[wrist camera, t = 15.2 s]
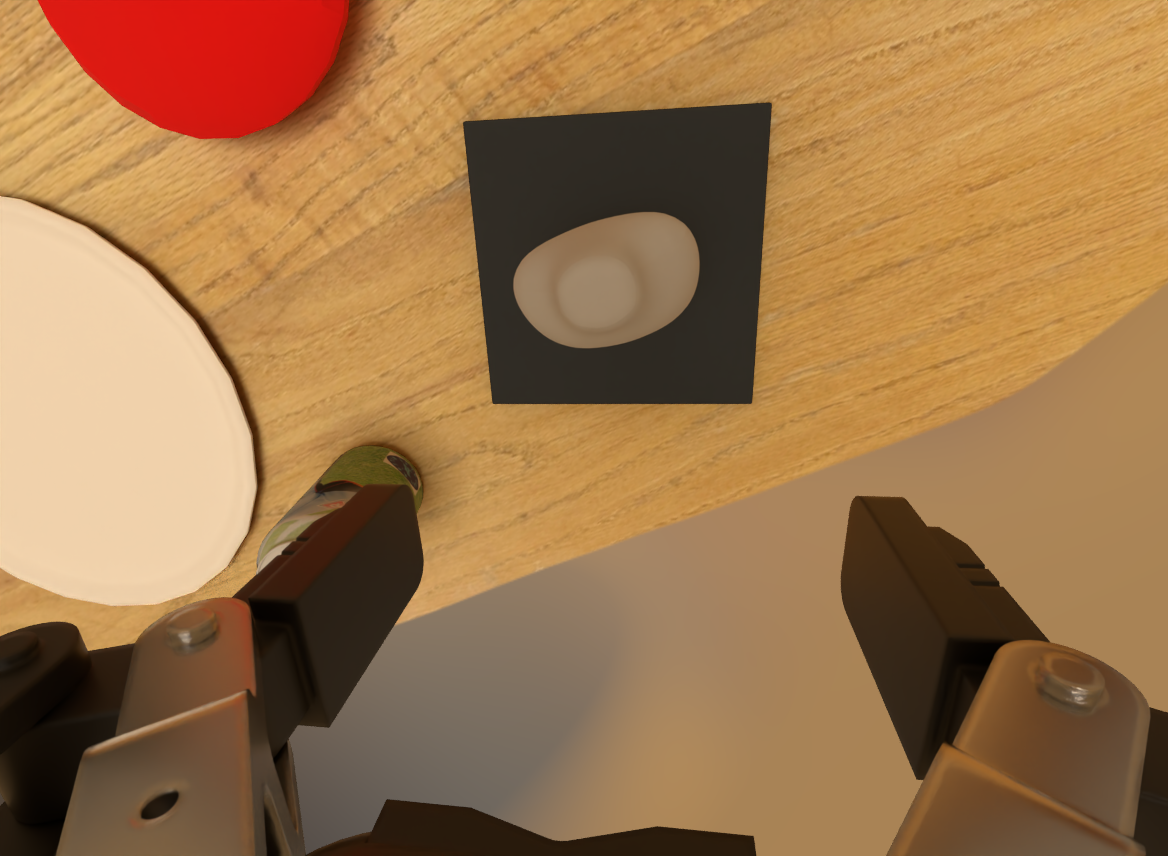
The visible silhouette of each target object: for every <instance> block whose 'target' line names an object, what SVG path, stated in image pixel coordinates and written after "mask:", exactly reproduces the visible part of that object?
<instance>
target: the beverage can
mask: <svg viewBox="0 0 1168 856" xmlns="http://www.w3.org/2000/svg"><path fill="white" fill-rule="evenodd" d="M366 484H405V485H408V486H409V487H410V488H411V490H412V493H413V496H414V502H415V508H416V514H417V512H418V510H419V508H420V506H421V503H422V499H423V487H422V482H421V479H420V476H419V474H418V472H417V471H416V469H415V468H414V466H413V465H412V464H411V463H410V462H409V461H408V460H407V459H406V458H405V457H403V456H402V455H400V454H399V453H397V452H395V451H393V450H391V449H388V448H384V447H380V446H362V447H357V448H354V449H351V450H349V451H347V452H346V453H344V454H342V455H341V456H340V457H339V458H338V459H337V460H336V461H335V462H334V463H333V464H332V465H331V466H330V467H329V468H328V469H327V471H326V472H325V473H324V474H323V475H322V476H321V477H320V478H319V479H318V480H317V481H316V482H315V483H314V485H313V486H312V487H311V488H310V489H309V490H308V491H307V492H306V493H305V494H304V495H303V496H302V497H301V499H300V500H299V501H298V502H297V503H296V504H295V505H294V506H293V507H292V508H291V509H290V510H289V511H288V512H287V514H286V515H285V516H284V517H283V518H282V519H281V520H280V521H279V522H278V523H277V524H276V525H275V526H274V528H273V529H272V530H271V531H270V532H269V533H268V534H267V536H266V537H265V539H264V540H263V542H262V544H261V546H260V549H259V552H258V557H257V572H256V575H257V574H258V573H259V572H260V571H261V570H262V569H263V568H264V567H265V566H266V565H267V564H268V563H270V562H271V561H272V560H273V559H274V558H275V557H276V556H277V555H281V554H282V550H284V549H285V548H286V547H287V546H288V545H289V544H290V543H291V542H292V541H296V538H297V537H298V536H299V535H300V534H301V533H302V532H303V531H304V530H305V529H306V528H307V527H308V526H309V525H311V524H312V523H313V522H314V521H316V520H318V519H319V518H321V517H323V516H325V515H327V514H329V513H331V512H332V511H334V510H336V509H338V508H342V507H343V506H344V505H345V504H346V503H347V502H348V501H349V500H350V499H351V498H352V497H353V496H354V495H355V494H356V493H357V492H358V491H359V490H360V489H361V488H362V487H363V486H365V485H366Z"/></svg>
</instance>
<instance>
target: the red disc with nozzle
mask: <svg viewBox="0 0 1168 856" xmlns="http://www.w3.org/2000/svg"><path fill="white" fill-rule="evenodd" d="M38 2H39V4H40V6H41V8H42V10H43V12H44V14H45V16H46V18H47V20H48V21H49V23H50V24H51V26H52V28H53V29H54V31H55V32H56V33H57V35H58V36H59V37H60V39H61V40H62V41H63V43H64V44H65V45H66V47H67V48H68V49H69V51H70V52H71V53H72V55H73V56H74V58H75V59H76V60H77V62H78V63H79V64H80V66H81V67H82V68H83V70H84V71H85V72H86V73H87V74H88V75H89V76H90V77H91V78H92V79H93V80H95V81H96V82H97V83H98V84H99V85H100V86H101V87H102V88H103V89H104V90H105V91H107V92H108V93H109V94H110V95H111V96H112V97H113V98H114V99H115V100H116V101H118V102H119V103H120V104H121V105H122V106H124V107H125V108H127V109H129V110H131V111H132V112H134V113H136V114H138V115H139V116H141V117H143V118H144V119H146V120H148V121H150V122H151V123H153V124H155V125H157V126H158V127H160V128H163V129H167V130H170V131H174V132H178V133H181V134H185V135H188V136H192V137H195V138H199V139H213V138H240V137H242V136H245V135H248V134H250V133H253V132H256V131H259V130H261V129H264V128H267V127H269V126H272V125H275V124H276V123H278V122H280V121H282V120H284V119H285V118H286V117H287V116H288V115H290V114H291V113H292V112H293V111H295V110H296V109H297V108H298V107H299V106H301V105H302V104H303V103H304V102H305V101H307V100H308V99H309V98H310V97H312V95H313V94H314V92H315V91H316V89H317V88H318V86H319V85H320V83H321V82H322V80H323V79H324V77H325V75H326V74H327V72H328V71H329V69H330V68H331V66H332V65H333V63H334V61H335V58H336V55H337V52H338V48H339V45H340V42H341V39H342V36H343V33H344V30H345V27H346V23H347V20H348V11H349V0H38Z"/></svg>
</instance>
